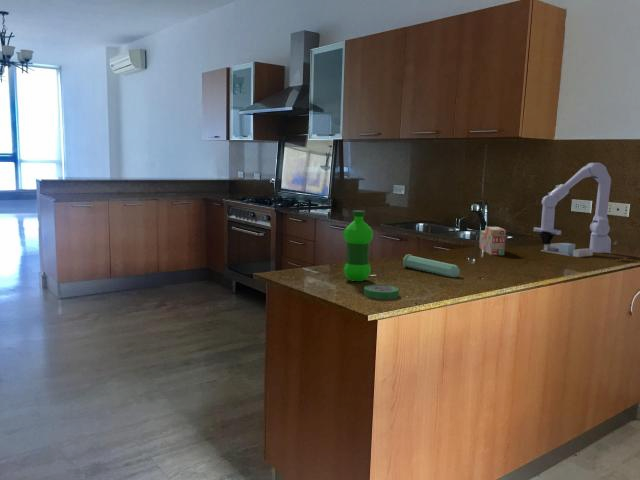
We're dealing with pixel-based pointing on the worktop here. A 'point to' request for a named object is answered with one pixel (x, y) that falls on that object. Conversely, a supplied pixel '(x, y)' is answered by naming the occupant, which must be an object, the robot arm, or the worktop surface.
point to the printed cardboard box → (493, 240)
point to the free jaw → (551, 247)
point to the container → (431, 266)
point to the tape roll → (381, 291)
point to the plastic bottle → (357, 248)
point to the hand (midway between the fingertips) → (545, 247)
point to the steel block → (566, 248)
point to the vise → (575, 252)
